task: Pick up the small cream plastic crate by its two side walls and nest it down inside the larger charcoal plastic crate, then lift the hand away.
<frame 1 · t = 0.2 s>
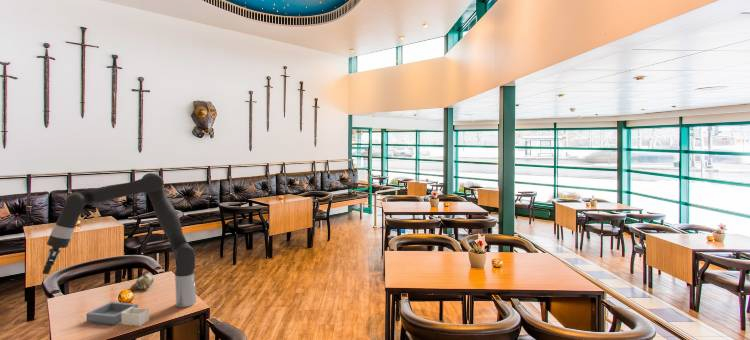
hand: (46, 271, 164), 31 cm above the table, fingers open, 8 cm apart
ceramic sculpture: (143, 288, 224), on the table
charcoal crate: (113, 317, 186), on the table
cream crate: (135, 322, 182), on the table
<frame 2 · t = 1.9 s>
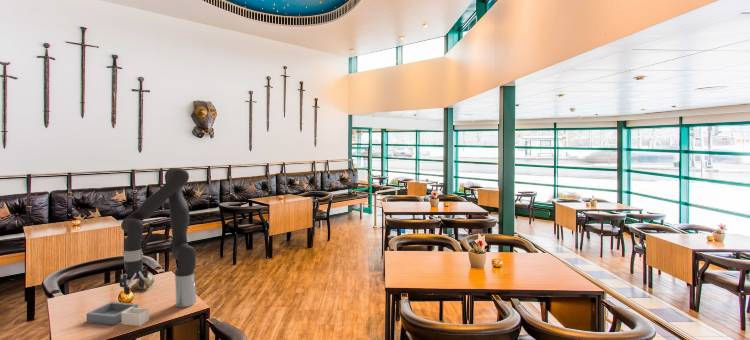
hand: (134, 290, 180), 16 cm above the table, fingers open, 8 cm apart
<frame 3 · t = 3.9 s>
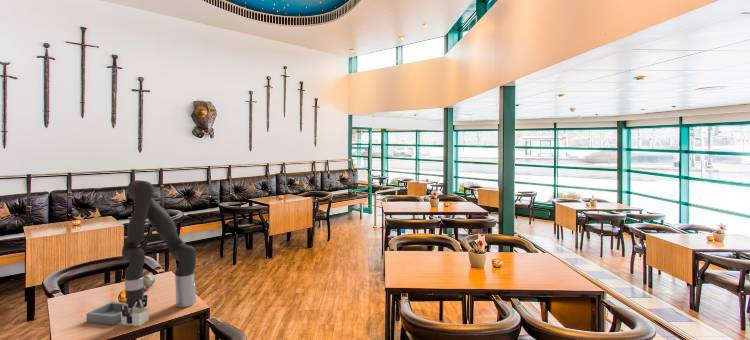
hand: (135, 320, 181), 1 cm above the table, fingers closed on cream crate, 6 cm apart
cream crate: (135, 322, 181), on the table, touching gripper
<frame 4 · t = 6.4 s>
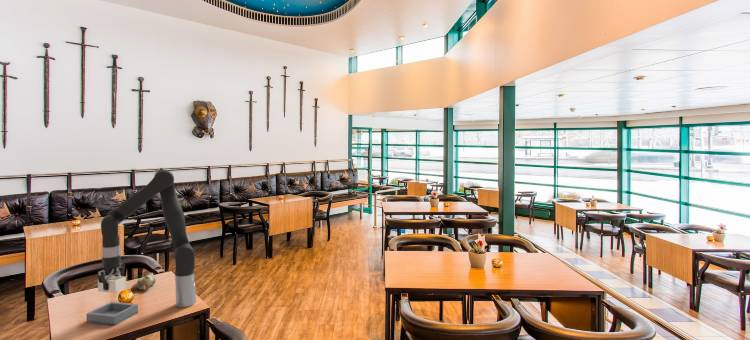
hand: (112, 287, 184), 16 cm above the table, fingers closed on cream crate, 6 cm apart
cream crate: (112, 289, 184), point 15 cm above the table, touching gripper
when the fingers open (4 cm above the table, at t = 9.3 s): cream crate drops 1 cm, resting on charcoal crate.
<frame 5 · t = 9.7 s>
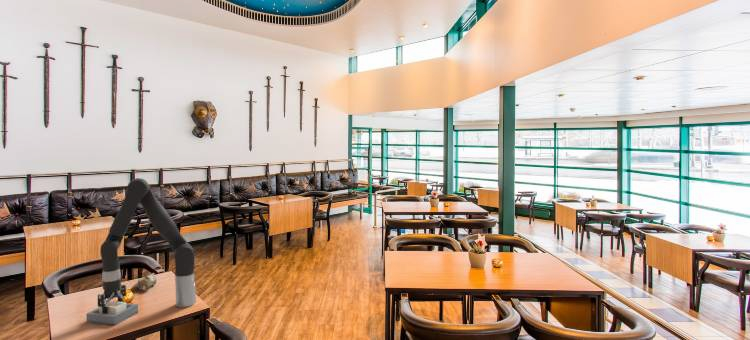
hand: (112, 309, 186), 4 cm above the table, fingers open, 8 cm apart
cream crate: (113, 315, 186), point 1 cm above the table, touching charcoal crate
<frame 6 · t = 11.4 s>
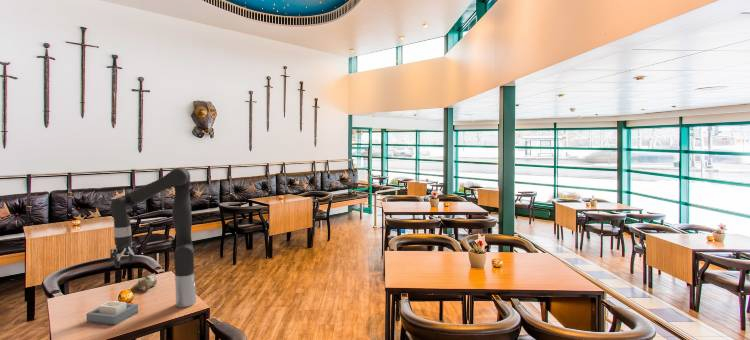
hand: (124, 264, 194), 24 cm above the table, fingers open, 8 cm apart
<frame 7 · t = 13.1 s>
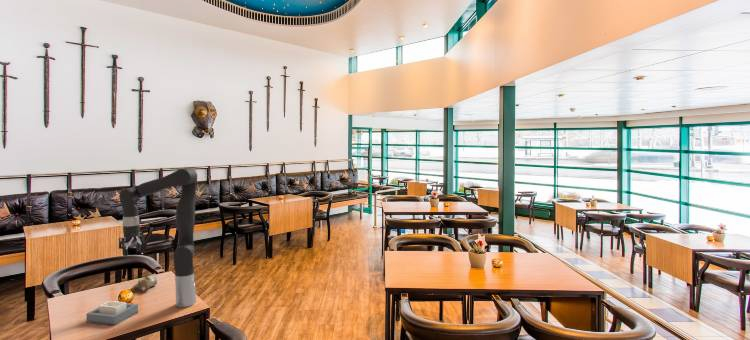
hand: (132, 253, 200), 28 cm above the table, fingers open, 8 cm apart
at the end: cream crate 0.1 cm off-centre on the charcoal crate, point 1.0 cm above the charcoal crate's base; cream crate tilted 0°; the gripper is holding nothing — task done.
